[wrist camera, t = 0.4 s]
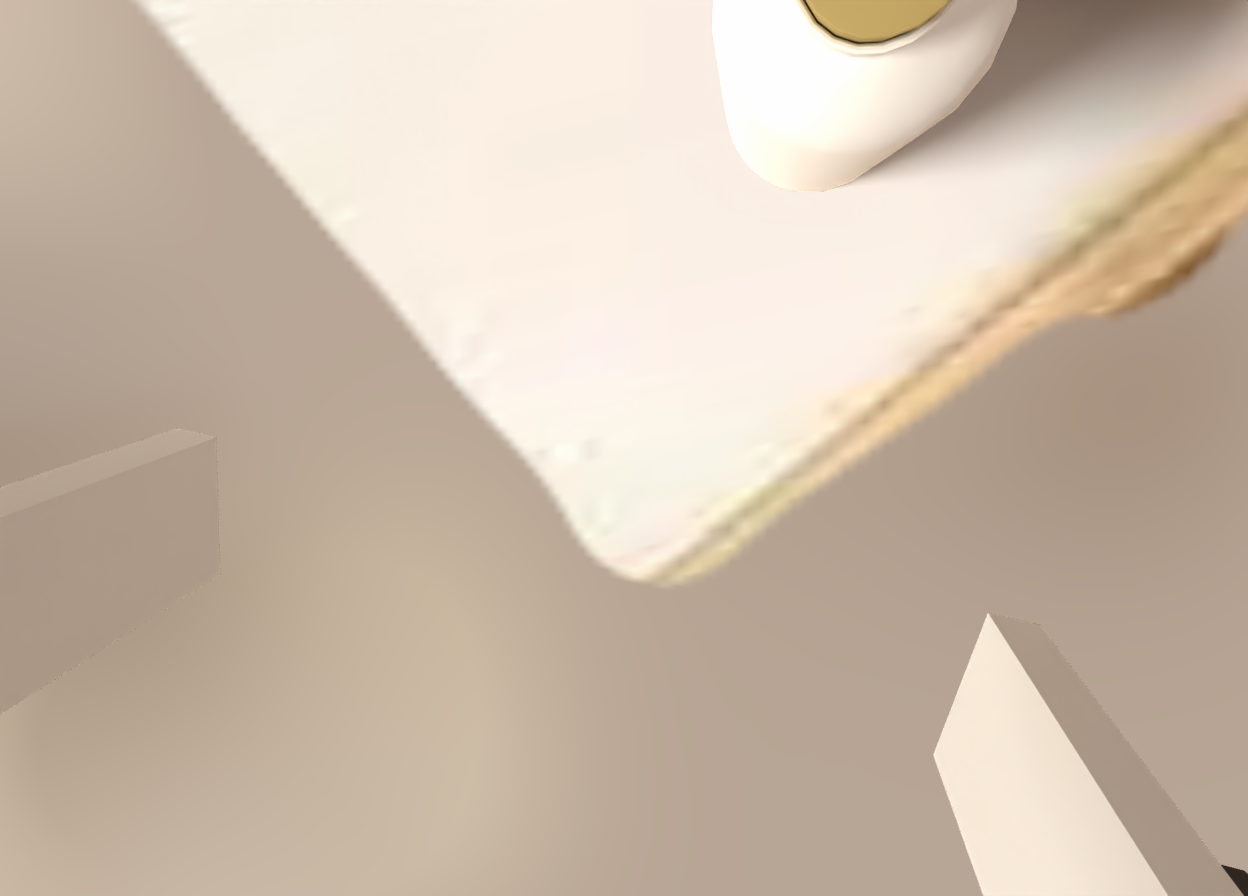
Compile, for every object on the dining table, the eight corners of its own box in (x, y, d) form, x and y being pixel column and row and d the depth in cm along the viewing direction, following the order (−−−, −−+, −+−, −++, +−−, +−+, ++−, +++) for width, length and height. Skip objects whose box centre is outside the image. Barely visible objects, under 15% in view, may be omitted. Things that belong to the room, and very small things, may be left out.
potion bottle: (929, 14, 31) (1152, -278, 14) (878, 207, 33) (1015, 160, 16) (746, -9, 32) (744, -308, 15) (710, 180, 34) (673, 109, 17)
